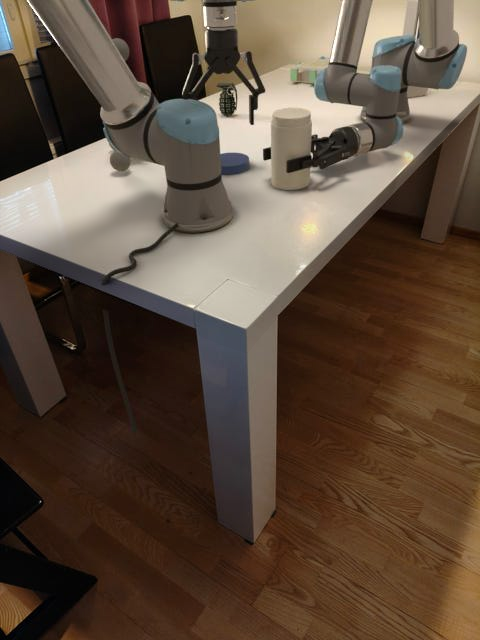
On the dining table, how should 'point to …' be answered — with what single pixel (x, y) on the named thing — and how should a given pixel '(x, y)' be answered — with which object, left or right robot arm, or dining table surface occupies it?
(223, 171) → the lid
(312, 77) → the decorative block
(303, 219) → the dining table surface
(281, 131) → the jar
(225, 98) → the grenade
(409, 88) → the electronic device
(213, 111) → the left robot arm
